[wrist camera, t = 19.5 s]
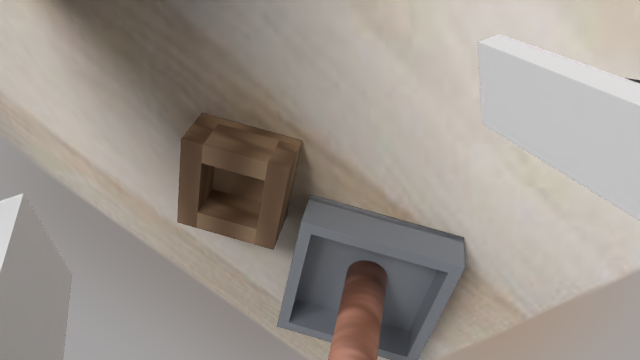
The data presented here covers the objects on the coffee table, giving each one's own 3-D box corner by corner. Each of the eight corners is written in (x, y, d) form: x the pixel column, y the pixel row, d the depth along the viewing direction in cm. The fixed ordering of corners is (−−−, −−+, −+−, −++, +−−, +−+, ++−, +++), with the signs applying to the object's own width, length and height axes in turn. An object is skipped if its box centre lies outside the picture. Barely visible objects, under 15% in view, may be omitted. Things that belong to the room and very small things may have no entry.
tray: (286, 297, 64) (276, 326, 60) (310, 194, 54) (301, 221, 51) (416, 335, 63) (414, 366, 59) (463, 237, 54) (465, 267, 50)
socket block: (196, 193, 57) (177, 222, 53) (202, 113, 51) (181, 138, 47) (285, 218, 57) (273, 249, 53) (302, 140, 51) (289, 169, 47)
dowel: (342, 283, 59) (318, 394, 48) (351, 255, 57) (328, 366, 46) (381, 294, 59) (365, 408, 48) (392, 267, 57) (378, 380, 45)
